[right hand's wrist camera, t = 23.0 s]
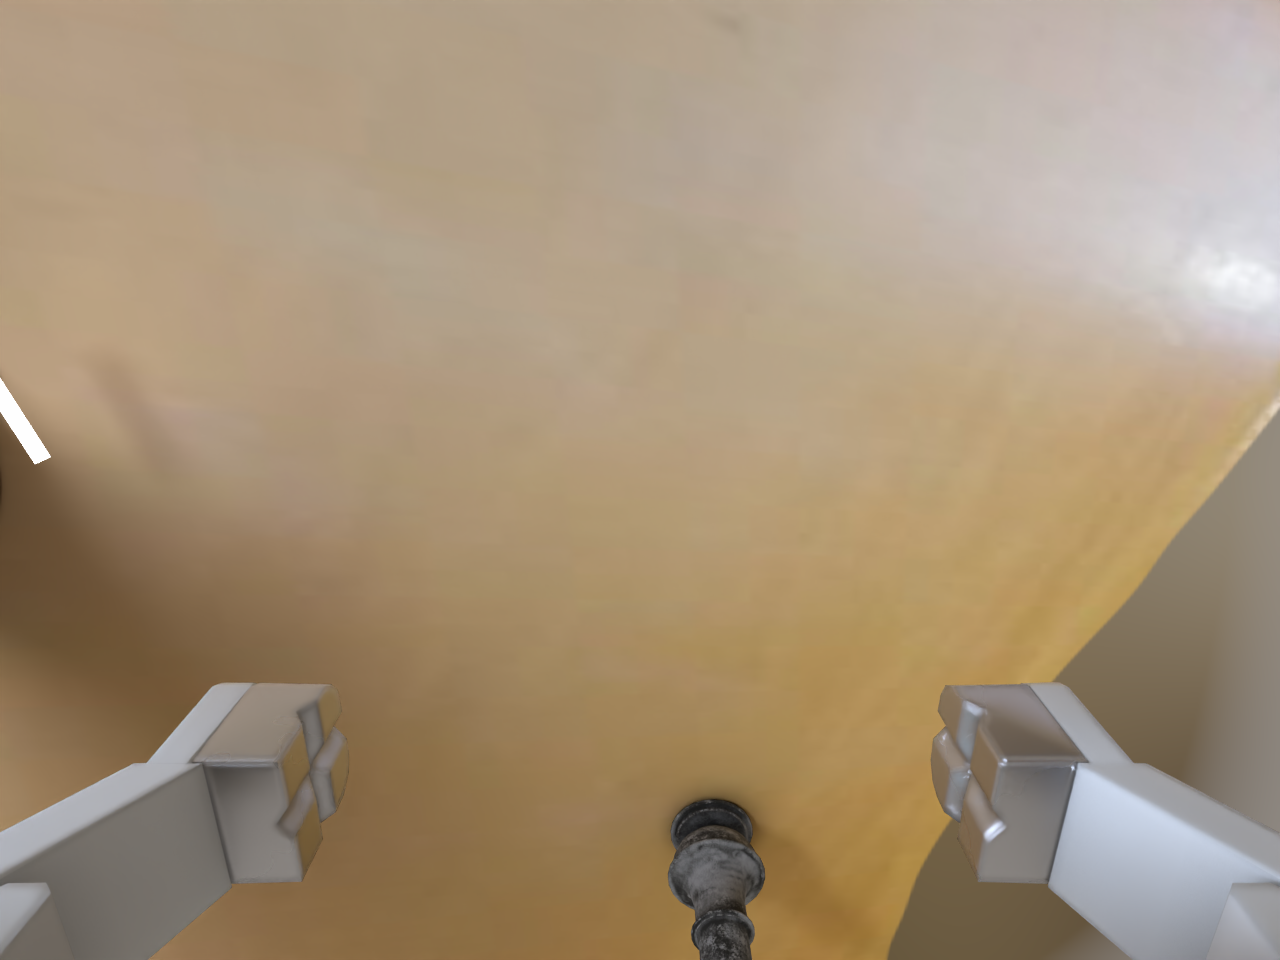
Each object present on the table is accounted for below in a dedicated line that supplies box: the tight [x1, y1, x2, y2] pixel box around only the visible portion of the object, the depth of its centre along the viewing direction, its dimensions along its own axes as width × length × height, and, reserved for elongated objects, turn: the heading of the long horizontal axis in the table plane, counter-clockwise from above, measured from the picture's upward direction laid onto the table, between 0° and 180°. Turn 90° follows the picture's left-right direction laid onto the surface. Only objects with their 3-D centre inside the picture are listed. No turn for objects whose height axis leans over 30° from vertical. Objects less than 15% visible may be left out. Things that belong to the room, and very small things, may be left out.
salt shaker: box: [668, 799, 765, 960], centre depth 45 cm, size 6×6×12 cm
